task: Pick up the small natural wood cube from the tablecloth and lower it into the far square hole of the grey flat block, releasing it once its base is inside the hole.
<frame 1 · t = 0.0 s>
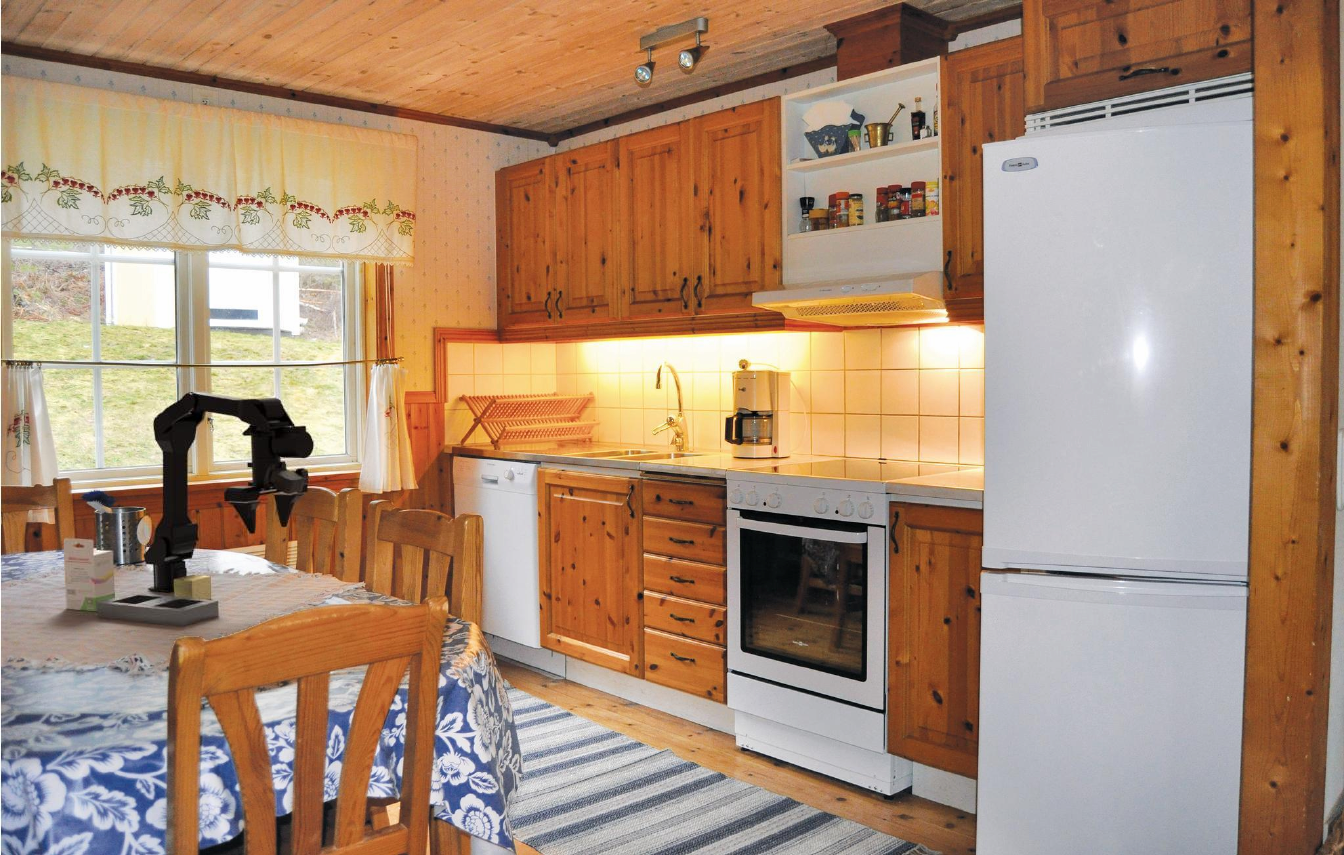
hand: (268, 530, 214), 15 cm above the table, fingers open, 9 cm apart
ink box: (91, 608, 208), on the table
natural wood cube: (193, 601, 214), on the table
grey flat block: (158, 616, 200), on the table
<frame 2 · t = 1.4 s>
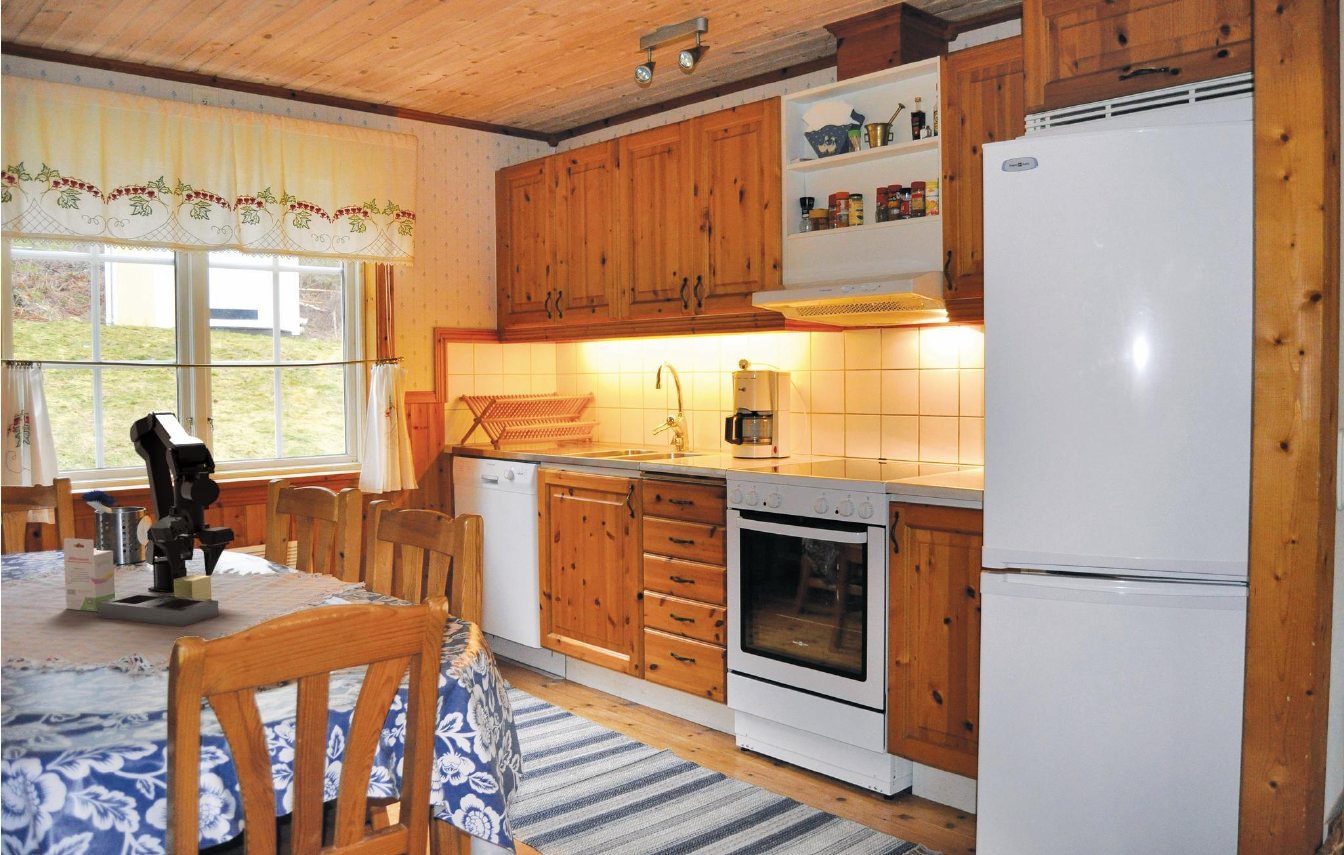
hand: (192, 574, 214), 6 cm above the table, fingers open, 9 cm apart
nothing on the table moved.
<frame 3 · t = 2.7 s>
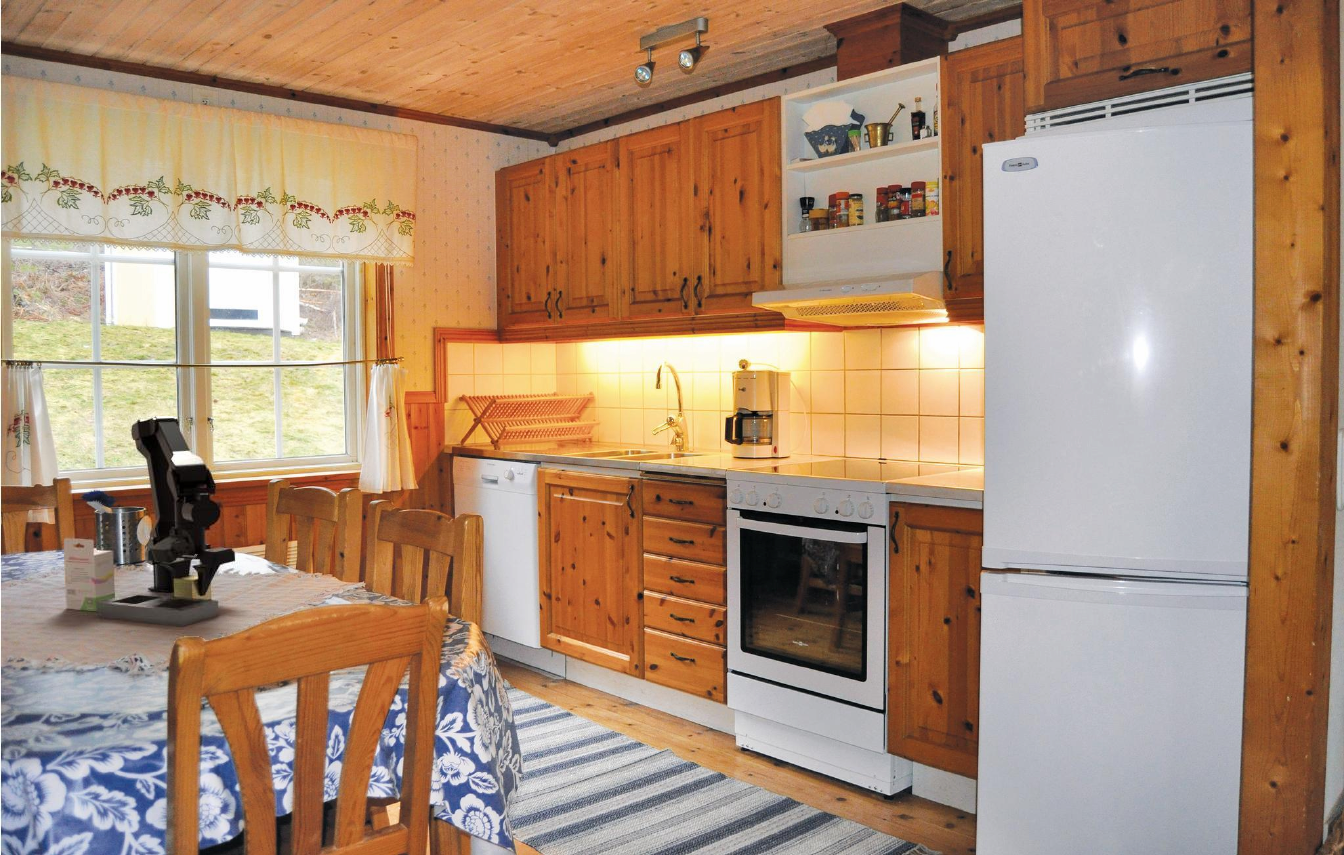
hand: (192, 594, 214), 1 cm above the table, fingers closed on natural wood cube, 5 cm apart
natural wood cube: (193, 600, 214), on the table, touching gripper
everything else where it was.
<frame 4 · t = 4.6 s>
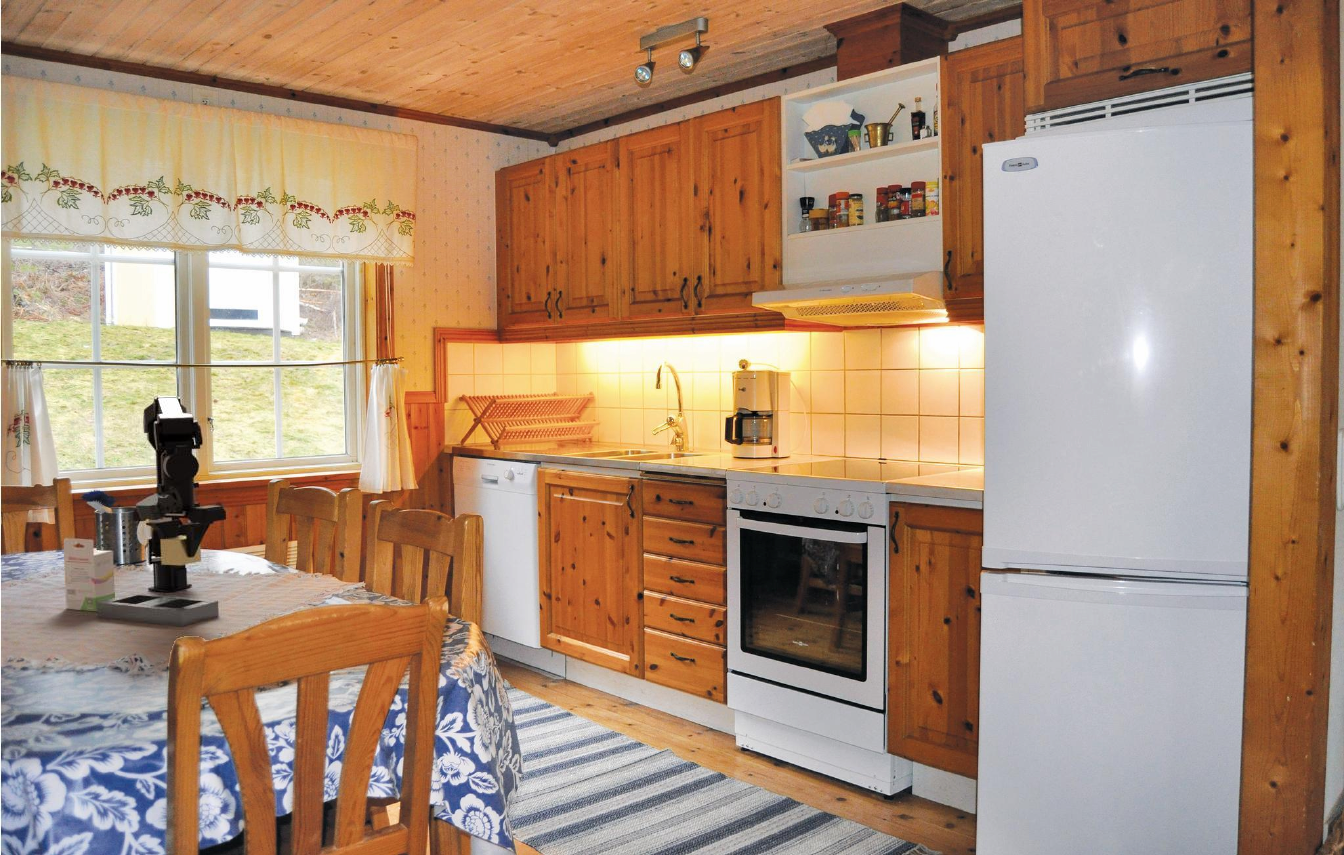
hand: (181, 556, 200), 12 cm above the table, fingers closed on natural wood cube, 5 cm apart
natural wood cube: (181, 562, 200), point 11 cm above the table, touching gripper
everything else where it was.
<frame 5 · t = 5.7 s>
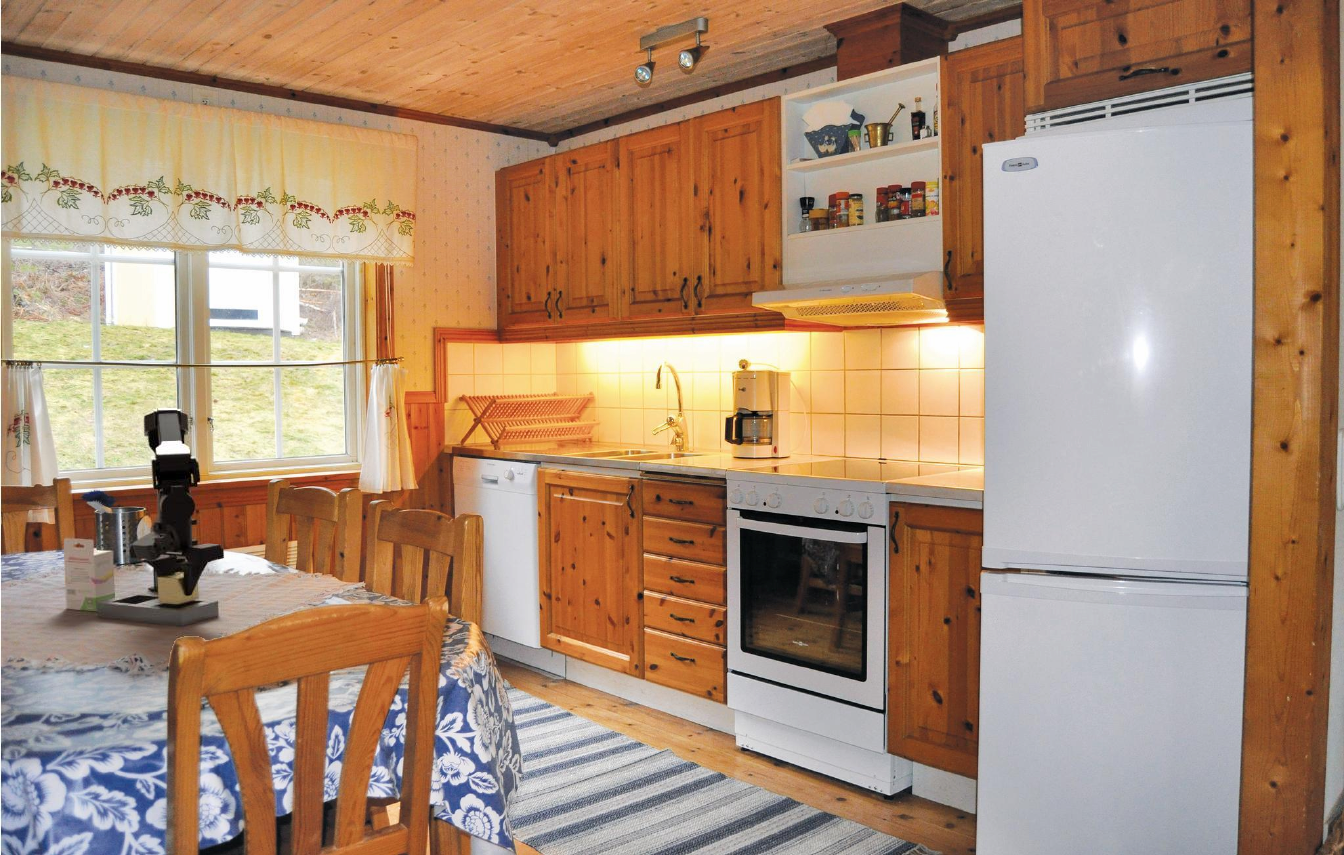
hand: (178, 594, 198), 5 cm above the table, fingers closed on natural wood cube, 5 cm apart
natural wood cube: (178, 600, 198), point 4 cm above the table, touching gripper
everything else where it was.
when the fingers open (4 cm above the table, at t = 6.6 s): natural wood cube drops 3 cm, resting in grey flat block.
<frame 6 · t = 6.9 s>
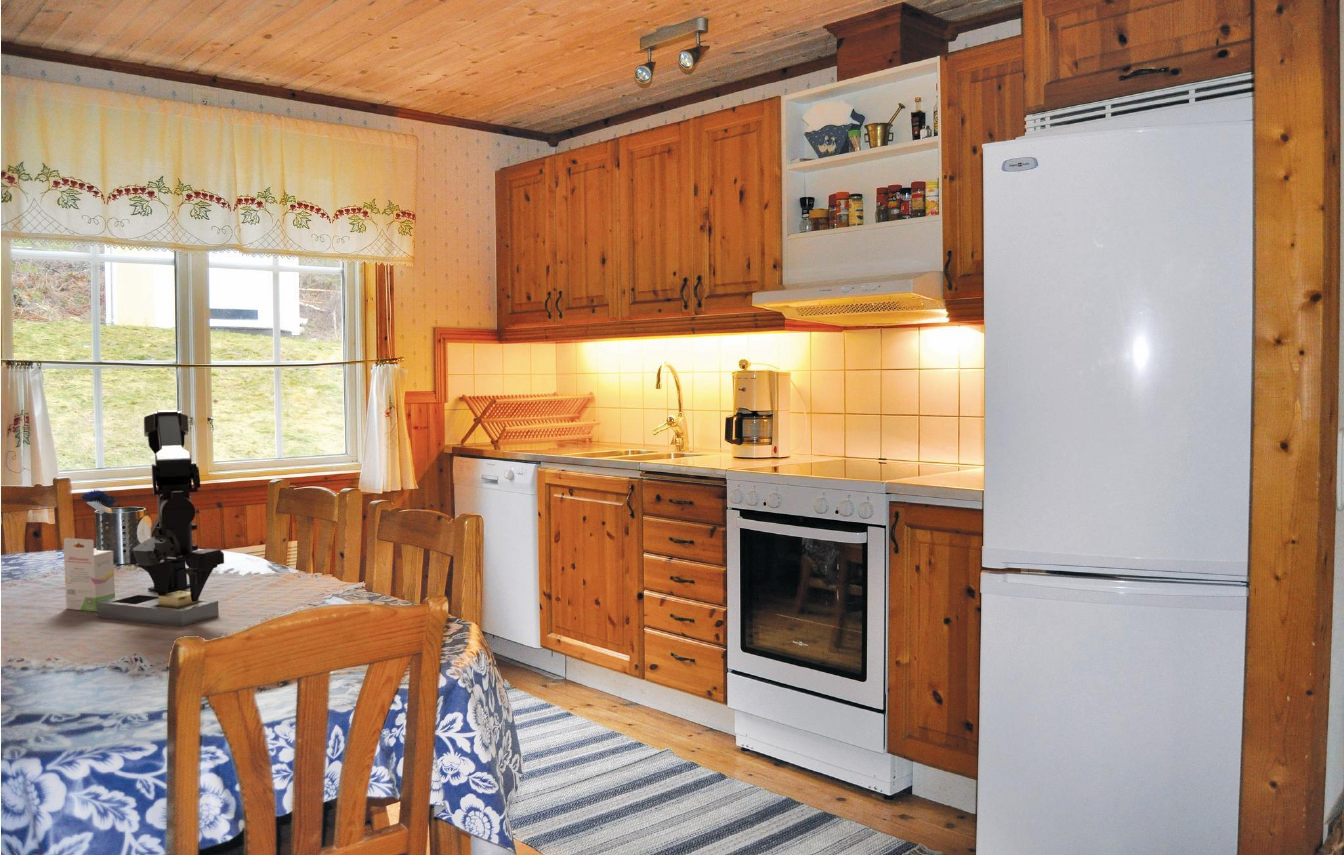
hand: (178, 599, 198), 4 cm above the table, fingers open, 8 cm apart
natural wood cube: (179, 619, 198), resting in grey flat block
everything else where it was.
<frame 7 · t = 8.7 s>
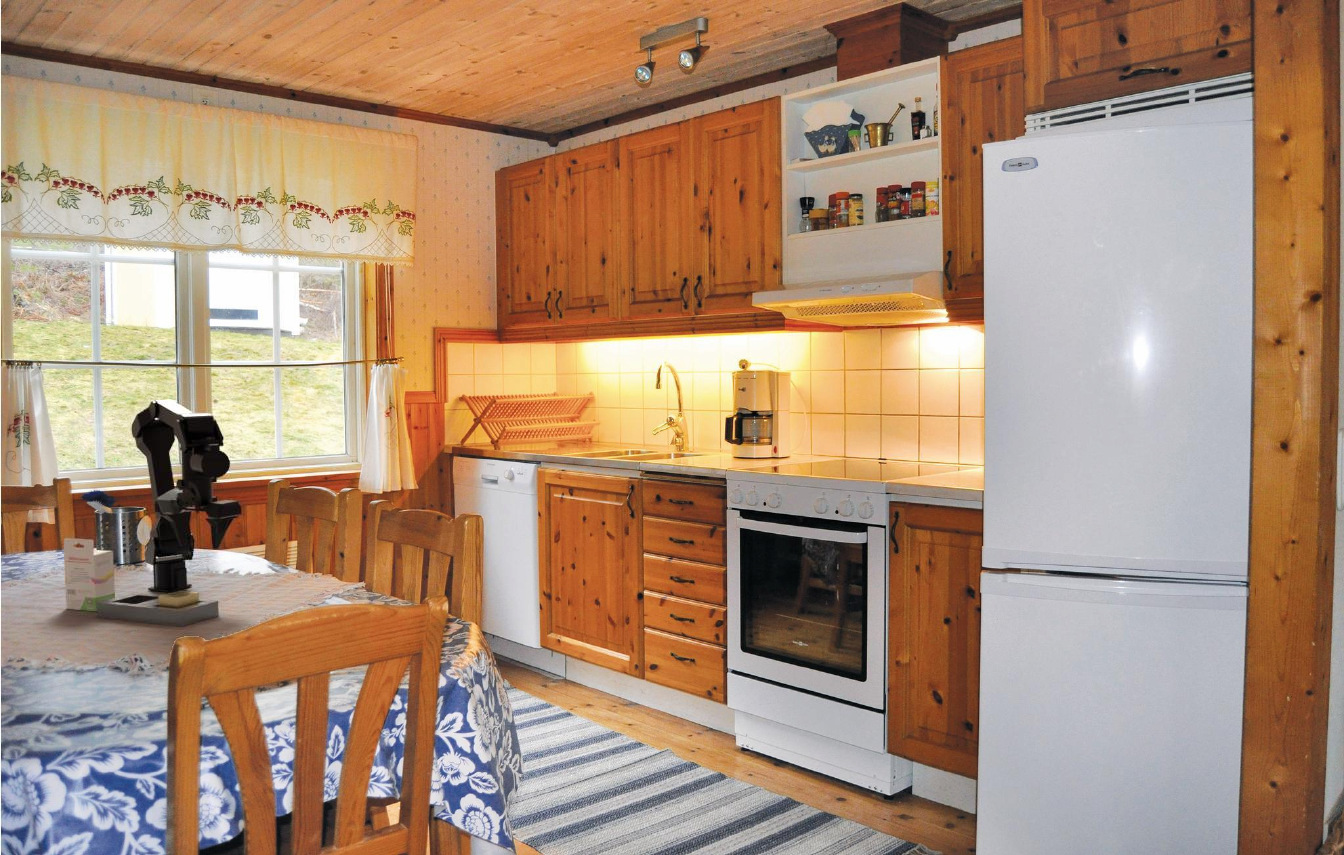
hand: (199, 547, 212), 12 cm above the table, fingers open, 9 cm apart
nothing on the table moved.
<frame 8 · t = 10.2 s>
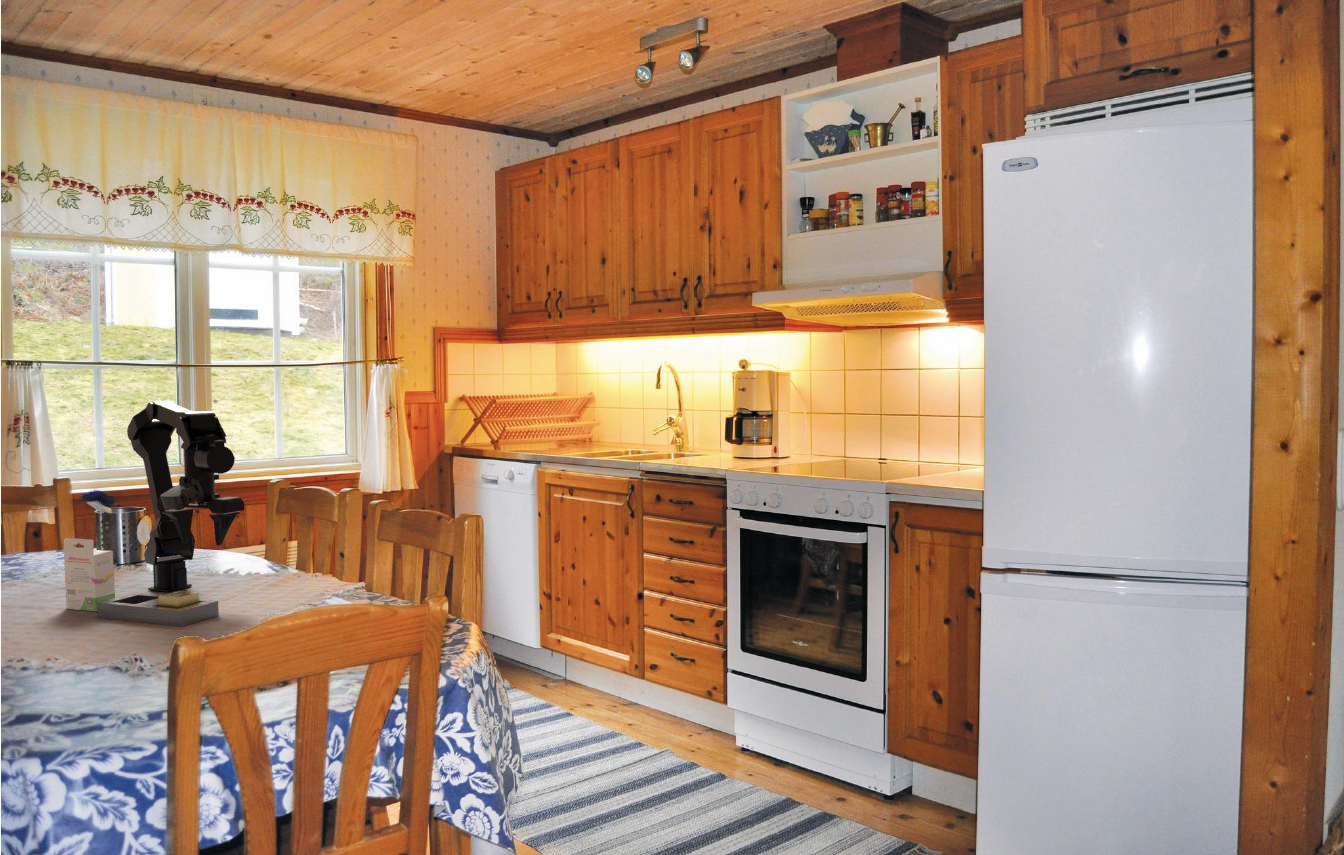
hand: (202, 544, 213), 12 cm above the table, fingers open, 9 cm apart
nothing on the table moved.
at the end: natural wood cube 0.1 cm from the target spot on the grey flat block, point 0.0 cm above the grey flat block's base; the gripper is holding nothing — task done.
